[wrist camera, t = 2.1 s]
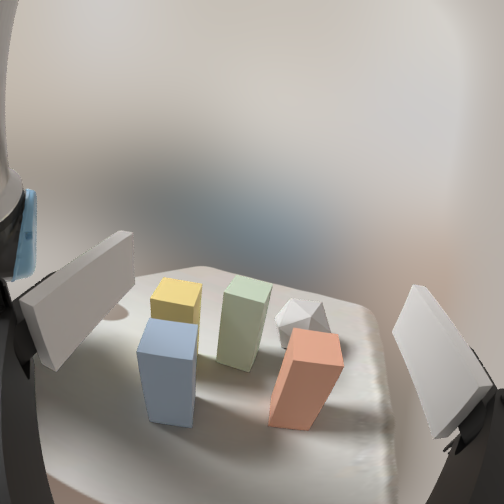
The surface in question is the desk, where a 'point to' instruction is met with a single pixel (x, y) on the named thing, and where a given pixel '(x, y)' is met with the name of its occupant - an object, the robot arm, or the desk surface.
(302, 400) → the terracotta pillar
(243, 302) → the sage pillar
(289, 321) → the die
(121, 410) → the desk surface
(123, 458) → the desk surface
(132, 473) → the desk surface
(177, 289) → the mustard pillar
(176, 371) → the slate pillar
